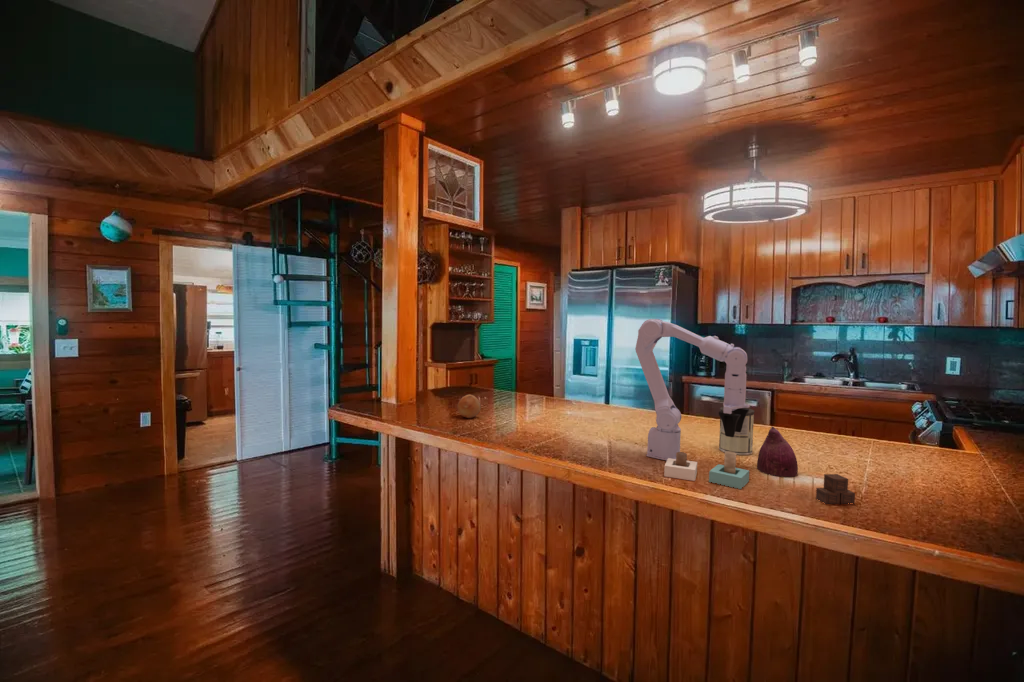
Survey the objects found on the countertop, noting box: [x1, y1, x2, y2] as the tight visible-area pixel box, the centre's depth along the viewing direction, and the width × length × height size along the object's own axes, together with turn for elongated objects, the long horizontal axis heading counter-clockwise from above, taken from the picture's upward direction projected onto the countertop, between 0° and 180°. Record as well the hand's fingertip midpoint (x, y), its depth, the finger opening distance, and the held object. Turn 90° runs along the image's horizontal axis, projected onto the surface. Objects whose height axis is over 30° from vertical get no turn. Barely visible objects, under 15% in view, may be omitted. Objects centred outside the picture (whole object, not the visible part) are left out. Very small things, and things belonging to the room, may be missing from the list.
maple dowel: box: [723, 451, 737, 474], centre depth 127 cm, size 3×3×8 cm
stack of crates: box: [815, 473, 856, 505], centre depth 115 cm, size 15×15×7 cm
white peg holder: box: [663, 458, 698, 482], centre depth 132 cm, size 8×8×3 cm
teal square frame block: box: [708, 463, 750, 490], centre depth 127 cm, size 8×8×3 cm
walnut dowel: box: [676, 451, 688, 467], centre depth 132 cm, size 3×3×6 cm
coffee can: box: [718, 406, 755, 456], centre depth 156 cm, size 10×10×14 cm
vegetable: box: [756, 426, 799, 478], centre depth 135 cm, size 10×10×15 cm
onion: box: [456, 393, 482, 419], centre depth 201 cm, size 10×10×10 cm
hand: (733, 434), depth 139 cm, fingers open, 7 cm apart
